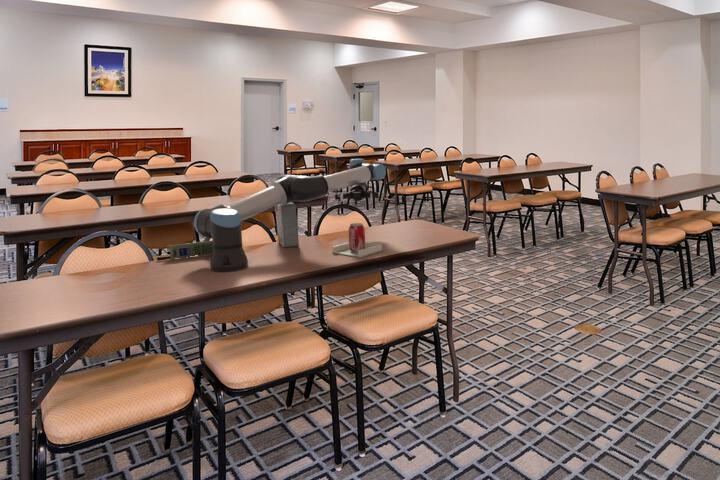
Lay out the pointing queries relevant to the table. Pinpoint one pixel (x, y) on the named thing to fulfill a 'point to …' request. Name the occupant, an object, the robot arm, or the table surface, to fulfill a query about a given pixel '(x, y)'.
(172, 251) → the handheld radio
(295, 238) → the hard drive box
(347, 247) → the box
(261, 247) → the table surface
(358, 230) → the soda can
